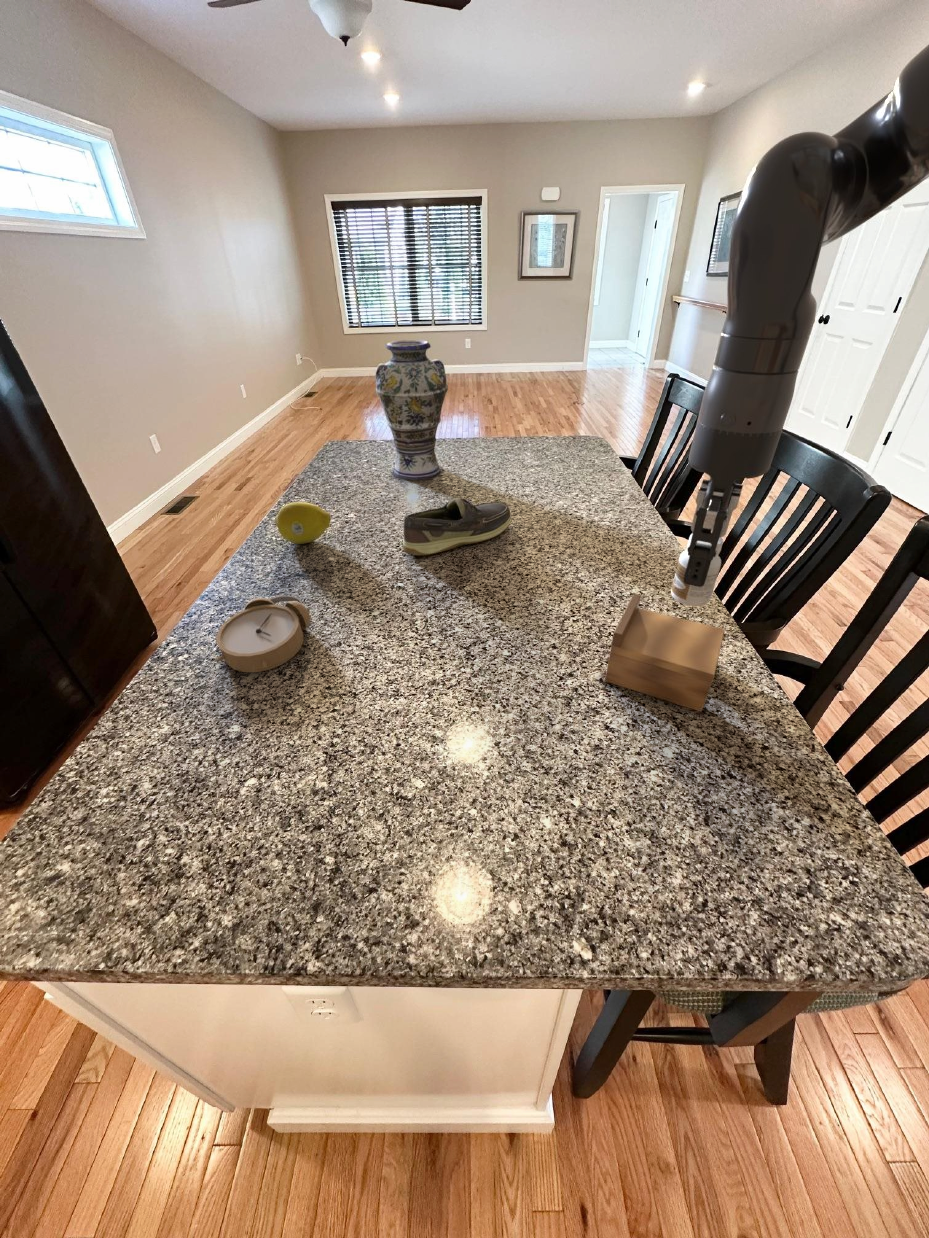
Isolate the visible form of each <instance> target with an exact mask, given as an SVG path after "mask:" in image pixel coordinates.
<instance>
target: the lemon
mask: <svg viewBox="0 0 929 1238" xmlns="http://www.w3.org/2000/svg"><path fill="white" fill-rule="evenodd" d="M274 522H275V525H276V526H277V530H278V532H279V534H280V536H281V537H282V538H283V539H284V540H286V541H288V542H290V543H293V544H300V545H301V544H303V545H304V544H308V543H311V542H314V541H315V540H317V539H319V538H320V537H322V536H323V535H324V533H325V532H326V530H328V529H329V528H330V526H331V525H330V524H331V514H330V513H329V512H327V510H324V509H322V508H321V507H320V506H318V505H316V504H314V503H311V502H305V501H293V502H290V503H287V504H285V505H283V506H282V507H281V508H280V509H279V511H278V513H277V516H276V518H275V521H274Z"/></svg>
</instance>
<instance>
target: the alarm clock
mask: <svg viewBox="0 0 929 1238" xmlns="http://www.w3.org/2000/svg"><path fill="white" fill-rule="evenodd" d="M282 602H286V603H285V604H284V605H281V604H277V603H282ZM310 611H311V608H310V607H306V606H305V605H304V604H303V601H302V599H300V598H299V597H297V596H293V595H278V596H274V597H272V598H266V597H255V598H252V599H251V600H249V601H248V602H247V604H246V605H245V607H244V610H241V611H239V612H237V613H235V614H234V615H232V616H230V617H229V618H228V619H227V620H225V622H223V623H222V625H221V626H220V627H219V629H218V630H217V633H216V640H215V641H216V644H217V646H218V648H219V651H220V652H221V655H220V656H218V657H217V658H216V659H215V662H216V663H219V662H222V661H224V662H225V664H226V665H227V666H228V667H230V668H232V670H234V671H238V672H242V673H260V672H264V671H270V670H272V669H274V668H277V667H280V666H283V664H285V663H286V662H288V661H289V660H291V659H293V658H294V656H296V654H297V653H298V652H300V650H301V648H302V645H303V644H304V632H303V630H306V629H307V628H308V627H309V626H310V624H311V620H312V619H311V614H310Z"/></svg>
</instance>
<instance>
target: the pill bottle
mask: <svg viewBox="0 0 929 1238" xmlns="http://www.w3.org/2000/svg"><path fill="white" fill-rule="evenodd" d="M692 535H693V532H692V533H691V534H690V535H689V537H688V541H687V545H686V549H685V550H684V551H682V552H681V553H680V555H679V558H678V562H677V566H676V570H675V574H674V578H673V582H672V585H671V590H670V595H671V597H672V598H673V599H674V601H676V602H677V603H679V604H682V605H684V606H688V607H702V606H705V605H707V604H709V602H710V601H711V599H712V596H713V592H714V589H715V587H716V582H717V578H718V576H719V573H720V569H721V566H722V559H721V557H720V556H719V555H720V553H721V551H722V547H723V543H724V540H723V537H721V538H719V540H718V544H717V547H716V550H715V551H717V552H716V556H715V557H713V560H711V564H710V567H709V570H708V574H707V577H706V581H705V584H704V586H702V587H697V586H693V585H688V584H685V583H684V581H683V579H684V575H685V572H686V568H687V564H688V560H689V557H690V556H689V555H688V552H687V550H688V547H689V546H690V543H691V539H692ZM697 544H702V545H707V546H712V545H711V543H707V542H702V541H697Z"/></svg>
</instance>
